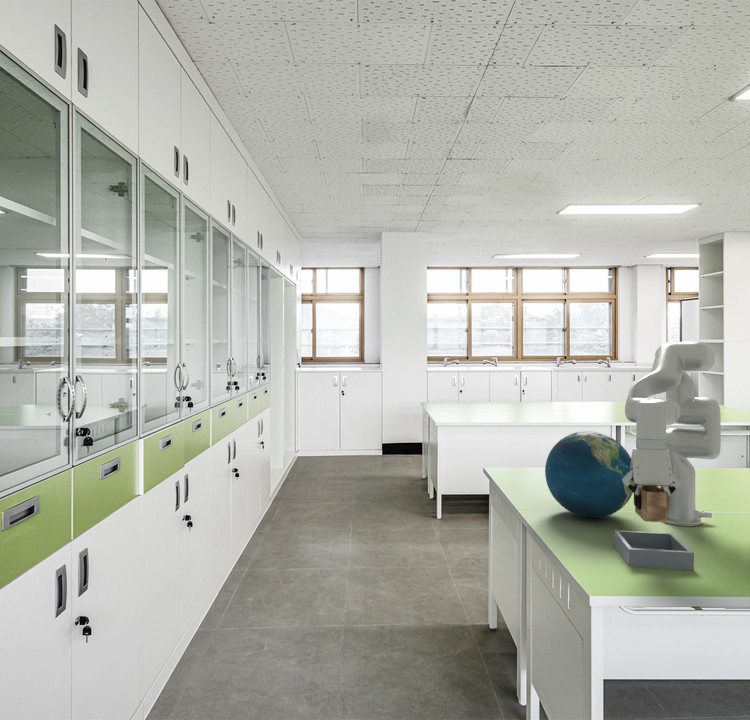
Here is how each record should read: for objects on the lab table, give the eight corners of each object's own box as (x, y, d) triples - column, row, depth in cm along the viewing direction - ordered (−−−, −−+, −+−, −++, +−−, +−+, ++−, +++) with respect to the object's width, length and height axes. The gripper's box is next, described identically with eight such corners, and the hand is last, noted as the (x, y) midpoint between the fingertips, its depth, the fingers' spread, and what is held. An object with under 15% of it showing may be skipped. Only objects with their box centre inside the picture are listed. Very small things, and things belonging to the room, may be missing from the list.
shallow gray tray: (672, 550, 158) (672, 533, 158) (693, 571, 142) (693, 552, 142) (614, 546, 161) (613, 530, 161) (629, 567, 145) (628, 549, 145)
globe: (579, 533, 172) (579, 439, 172) (529, 508, 201) (528, 427, 200) (656, 525, 180) (656, 435, 180) (597, 502, 208) (596, 424, 208)
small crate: (657, 513, 155) (657, 485, 155) (668, 522, 146) (668, 492, 146) (635, 512, 156) (635, 484, 156) (644, 521, 147) (644, 492, 147)
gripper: (679, 443, 153) (679, 506, 153) (615, 441, 156) (615, 503, 156) (689, 447, 146) (689, 514, 146) (621, 445, 149) (622, 511, 149)
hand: (651, 508), depth 151 cm, fingers closed on small crate, 6 cm apart
